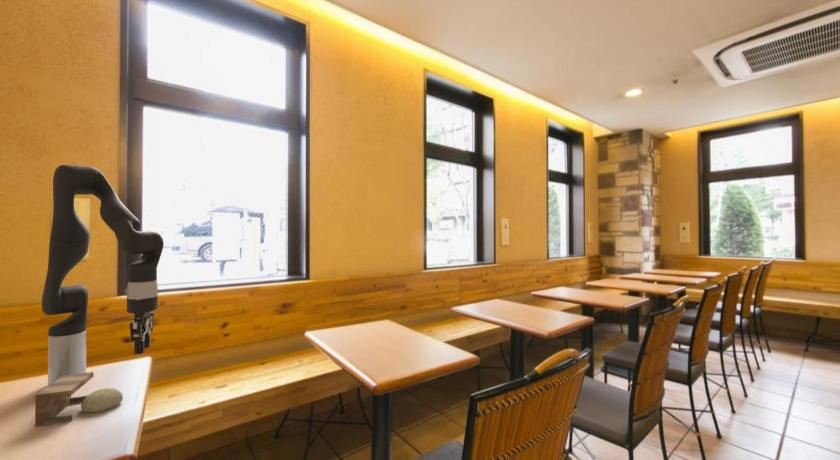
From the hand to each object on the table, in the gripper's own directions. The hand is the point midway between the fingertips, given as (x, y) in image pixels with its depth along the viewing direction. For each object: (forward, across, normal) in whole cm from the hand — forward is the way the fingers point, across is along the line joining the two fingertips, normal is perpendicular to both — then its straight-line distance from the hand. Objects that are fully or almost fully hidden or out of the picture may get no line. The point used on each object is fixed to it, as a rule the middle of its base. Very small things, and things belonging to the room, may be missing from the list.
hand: (142, 350), depth 108 cm
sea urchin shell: (+16, 0, -10) cm, 18 cm away
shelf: (+15, 0, -17) cm, 23 cm away
